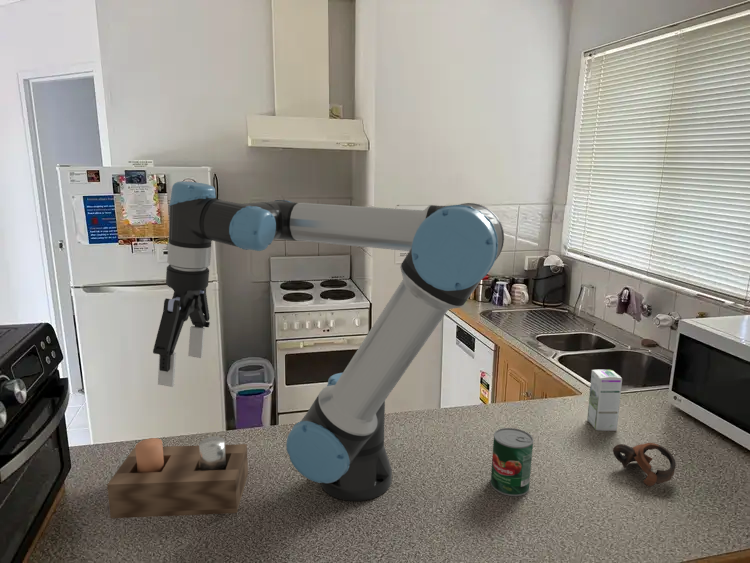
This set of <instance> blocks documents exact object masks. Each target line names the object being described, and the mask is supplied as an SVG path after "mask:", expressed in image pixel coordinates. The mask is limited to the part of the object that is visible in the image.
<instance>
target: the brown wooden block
mask: <svg viewBox="0 0 750 563" xmlns="http://www.w3.org/2000/svg"><path fill="white" fill-rule="evenodd" d="M225 454H226V470H207V471H201V465H200V449H199V445H178V446H177V445H176V446H175V445H173V446H170V445H169V446H163V457H164V468H163V470H162V472H149V473H138V470H137V459H136V448H135V447H133V449H132V450H131V451H130V452H129V453H128V456H127V457H125V460H124V461H123V462H122V464H121V465H120V466H119V467H118V469H117V471H115V473H114V474H113V476H112V477H111V479H110V480H109V481H108V482H107V484H106V486H107V496H108V497H107V498H108V506H109V507H108V508H109V516H110V519H131V518H132V519H134V518H151V517H152V518H157V517H177V516H178V517H179V516H180V517H181V516H199V515H200V516H201V515H205V516H206V515H223V514H224V515H226V514H227V515H228V514H229V515H230V514H237V513H238V511H239V508H240V504H241V502H242V501H241V500H242V497H243V493H244V491H245V486H246V483H247V479H248V476H249V466H248V465H249V464H248V461H249V460H248V444H247V443H242V444H241V443H238V444H237V443H236V444H225Z"/></svg>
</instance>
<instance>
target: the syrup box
mask: <svg viewBox="0 0 750 563" xmlns="http://www.w3.org/2000/svg"><path fill="white" fill-rule="evenodd" d="M590 376H591V378H590V386H589V388H590V389H589V395H588V396H589V398H588V406H587V407H588V408H587V419H586V420H587V422H588V423H589V424H590V425H591V426H592V427H593V429H594V430H596V431H601V432H602V431H603V432H604V431H607V432H608V431H609V432H610V431H611V432H613V431H615V432H617V431H618V422H619V413H620V404H621V395H622V394H621V393H622V385H623V384H622V383H623V378H622V377H621V375H619V374H618V373H616V372H615V371H614V370H613V369H591V374H590Z"/></svg>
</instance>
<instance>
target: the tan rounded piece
mask: <svg viewBox="0 0 750 563" xmlns="http://www.w3.org/2000/svg"><path fill="white" fill-rule="evenodd" d="M163 447H164V445H163V440H162V439H161V438H157V437H155V438H154V437H151V438H145V439H142V440H140V441H139V442H137V443H135V447H134V448H136V459H137V470H138V473H149V472H162V470H163V468H164V457H163Z"/></svg>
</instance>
